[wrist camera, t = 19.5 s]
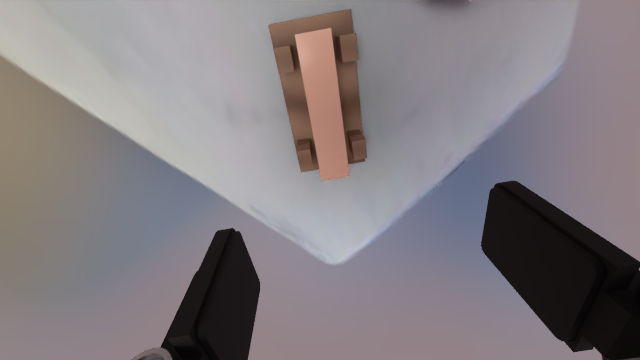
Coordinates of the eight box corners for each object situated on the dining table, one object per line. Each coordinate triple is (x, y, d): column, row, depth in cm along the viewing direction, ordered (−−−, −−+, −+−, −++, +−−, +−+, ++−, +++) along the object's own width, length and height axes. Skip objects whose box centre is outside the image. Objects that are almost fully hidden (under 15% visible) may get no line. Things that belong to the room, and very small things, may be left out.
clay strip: (295, 35, 29) (294, 34, 25) (327, 29, 29) (331, 27, 25) (319, 165, 36) (321, 180, 32) (344, 161, 36) (349, 176, 32)
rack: (269, 25, 29) (263, 22, 25) (349, 9, 29) (357, 4, 24) (301, 169, 37) (301, 186, 33) (363, 158, 37) (371, 174, 33)
